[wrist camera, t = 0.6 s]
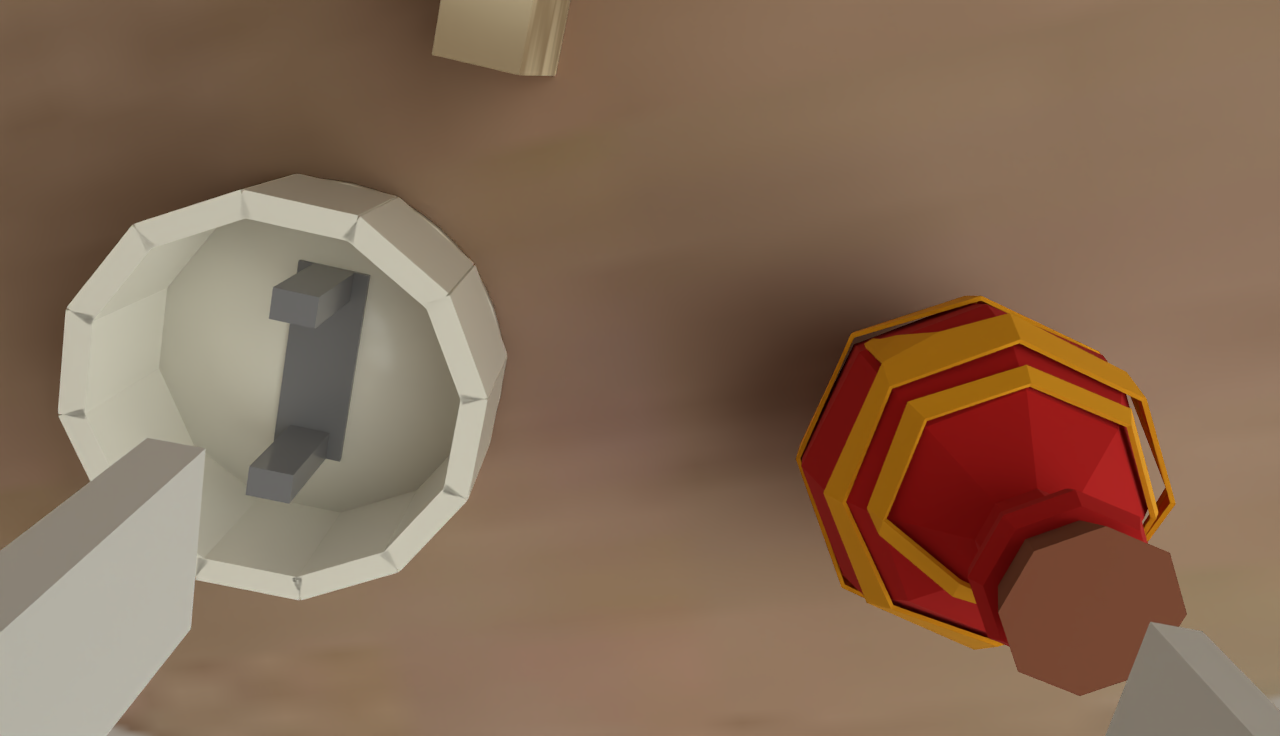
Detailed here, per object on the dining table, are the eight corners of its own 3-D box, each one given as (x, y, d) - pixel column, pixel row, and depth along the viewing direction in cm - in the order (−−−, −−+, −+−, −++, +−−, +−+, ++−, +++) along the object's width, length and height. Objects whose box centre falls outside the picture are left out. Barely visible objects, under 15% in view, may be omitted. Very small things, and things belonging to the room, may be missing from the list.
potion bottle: (764, 533, 38) (844, 810, 24) (779, 259, 35) (879, 386, 21) (1043, 536, 38) (1290, 814, 24) (1080, 263, 35) (1386, 392, 21)
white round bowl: (165, 140, 34) (77, 152, 29) (535, 224, 35) (516, 251, 30) (131, 482, 37) (47, 550, 32) (469, 550, 38) (442, 628, 33)
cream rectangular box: (516, -50, 33) (459, -111, 22) (577, -35, 33) (549, -89, 22) (495, 62, 33) (431, 54, 23) (555, 75, 34) (518, 75, 23)
